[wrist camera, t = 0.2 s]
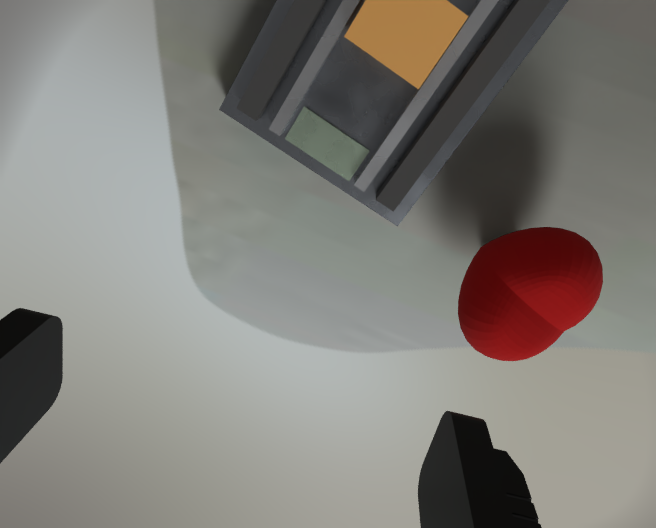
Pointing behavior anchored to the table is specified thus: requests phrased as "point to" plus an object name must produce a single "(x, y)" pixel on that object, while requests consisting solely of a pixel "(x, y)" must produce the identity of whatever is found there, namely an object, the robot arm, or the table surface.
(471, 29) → the panel
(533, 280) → the red heart figurine
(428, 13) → the tan cardboard cube
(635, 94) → the table surface
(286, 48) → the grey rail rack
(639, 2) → the table surface
